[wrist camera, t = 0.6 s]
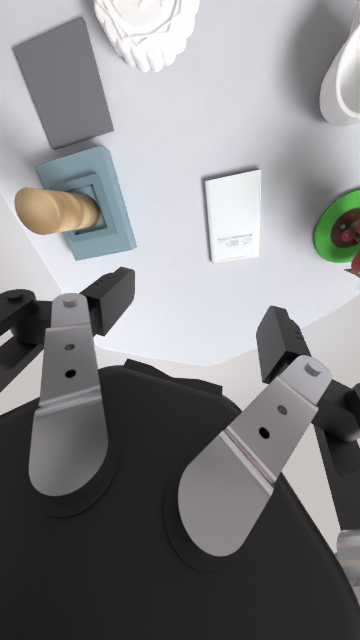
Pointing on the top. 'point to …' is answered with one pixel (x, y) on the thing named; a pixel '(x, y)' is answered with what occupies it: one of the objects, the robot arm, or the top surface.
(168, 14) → the mooncake
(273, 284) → the top surface
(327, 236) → the mushroom figurine
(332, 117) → the teacup
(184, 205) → the top surface
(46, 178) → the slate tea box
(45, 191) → the oak stopper
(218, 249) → the external hard drive
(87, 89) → the grey rubber coaster
